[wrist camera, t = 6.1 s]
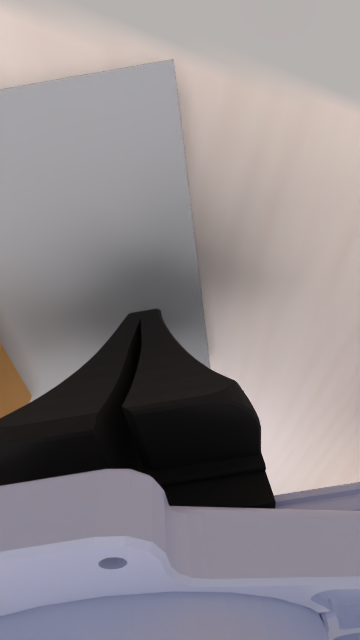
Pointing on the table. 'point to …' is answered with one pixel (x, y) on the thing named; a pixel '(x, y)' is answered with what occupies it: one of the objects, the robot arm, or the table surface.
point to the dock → (93, 218)
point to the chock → (11, 386)
